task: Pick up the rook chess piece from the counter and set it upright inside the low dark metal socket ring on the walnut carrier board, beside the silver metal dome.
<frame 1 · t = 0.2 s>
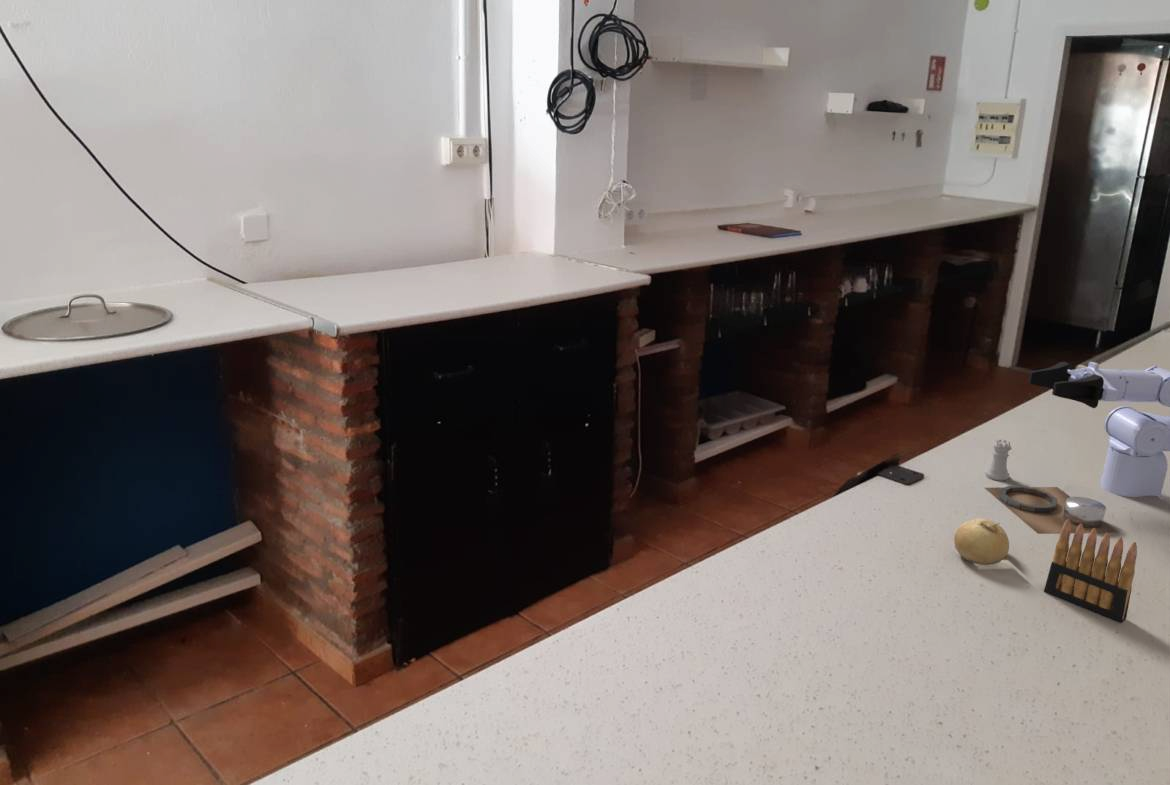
hand: (1041, 383, 161), 21 cm above the countertop, tool horizontal, fingers open, 7 cm apart
silver metal dome: (1082, 520, 156), resting on carrier board
ammunition clip: (1083, 606, 132), on the countertop
carrier board: (1046, 514, 160), on the countertop
rook chess piece: (995, 482, 173), on the countertop
socket ring: (1027, 501, 162), resting on carrier board
onion: (978, 559, 144), on the countertop
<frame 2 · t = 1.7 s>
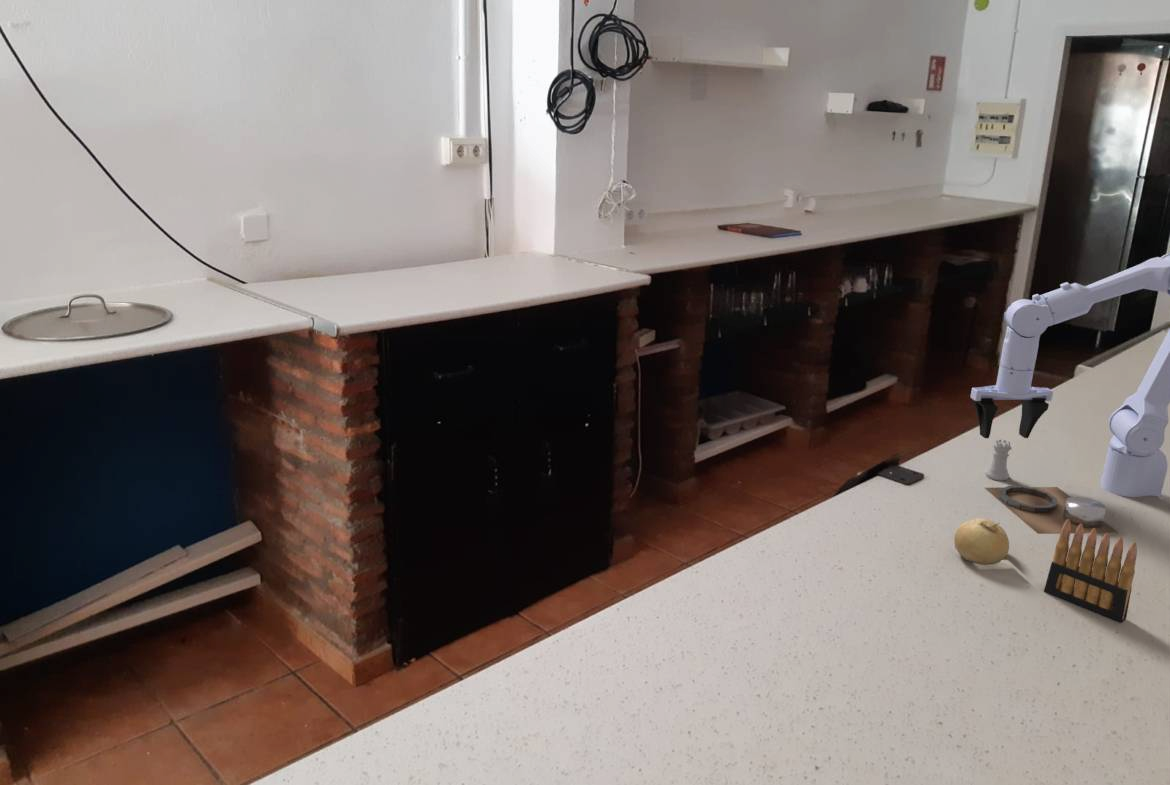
hand: (1003, 436, 170), 9 cm above the countertop, tool pointing down, fingers open, 7 cm apart
nothing on the countertop moved.
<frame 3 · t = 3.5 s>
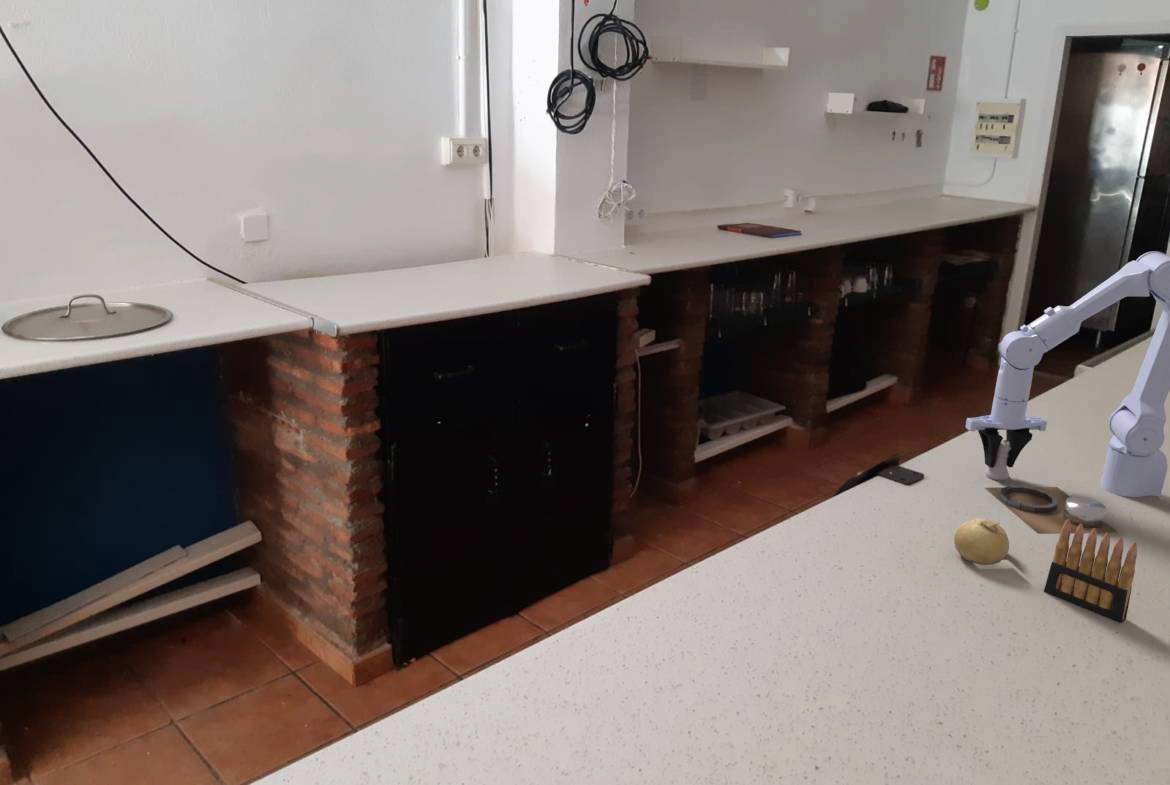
hand: (998, 465, 172), 3 cm above the countertop, tool pointing down, fingers closed on rook chess piece, 3 cm apart
rook chess piece: (995, 482, 173), on the countertop, touching gripper
everything else where it was.
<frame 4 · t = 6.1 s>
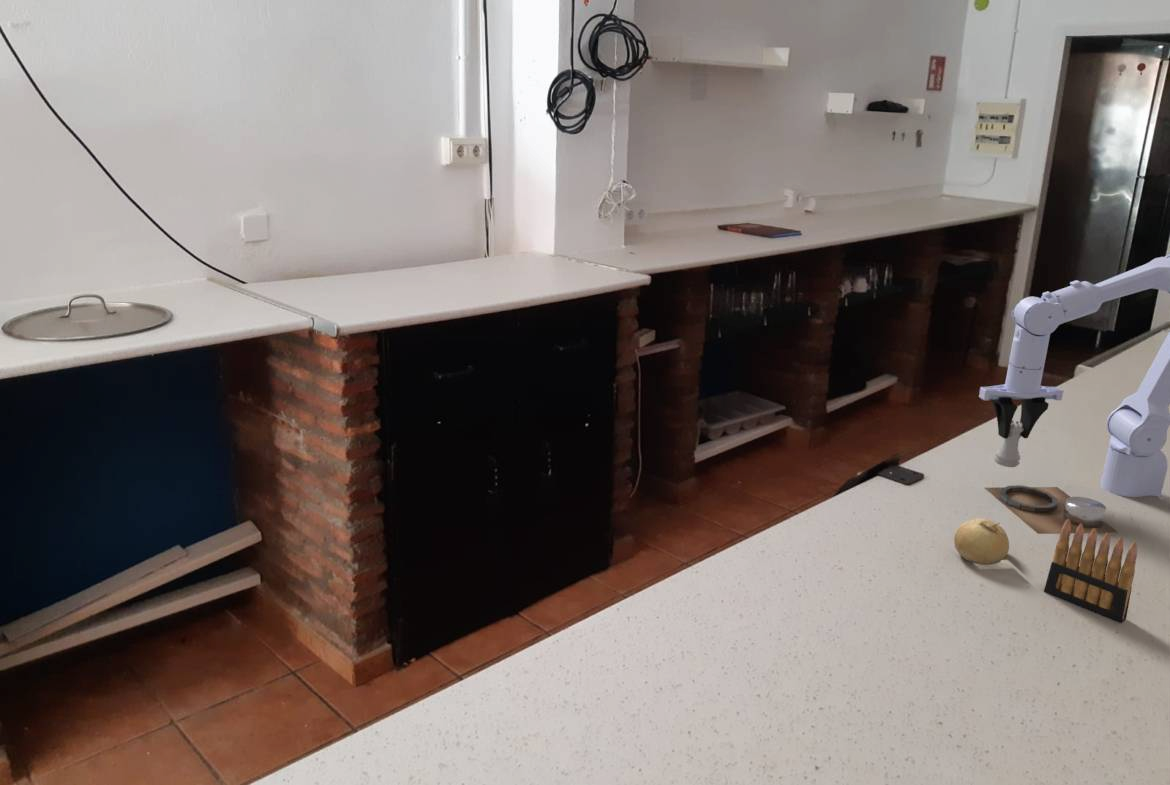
hand: (1013, 436, 167), 10 cm above the countertop, tool pointing down, fingers closed on rook chess piece, 3 cm apart
rook chess piece: (1005, 463, 169), point 5 cm above the countertop, touching gripper
everything else where it was.
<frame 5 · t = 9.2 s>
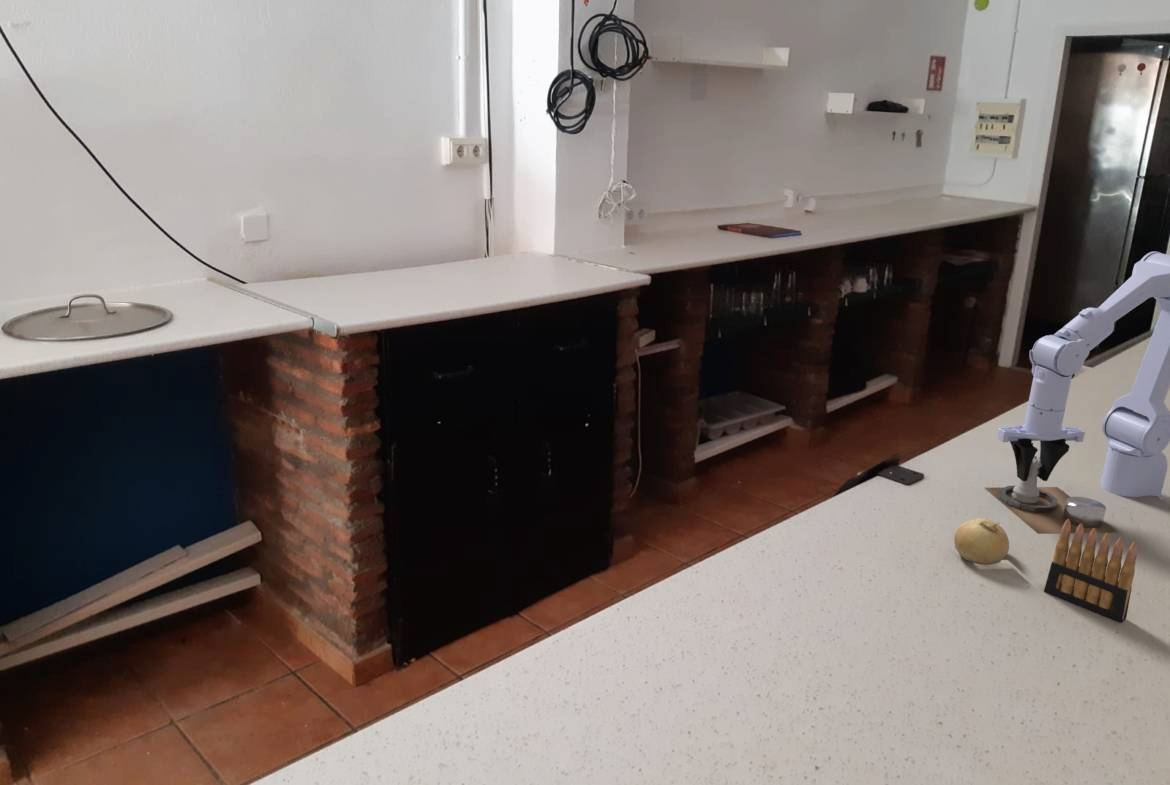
hand: (1032, 478, 161), 5 cm above the countertop, tool pointing down, fingers closed on rook chess piece, 3 cm apart
rook chess piece: (1024, 500, 163), point 1 cm above the countertop, touching carrier board, gripper
everything else where it was.
when the fingers open (5 cm above the countertop, at t = 10.3 s): rook chess piece stays where it is, resting on carrier board.
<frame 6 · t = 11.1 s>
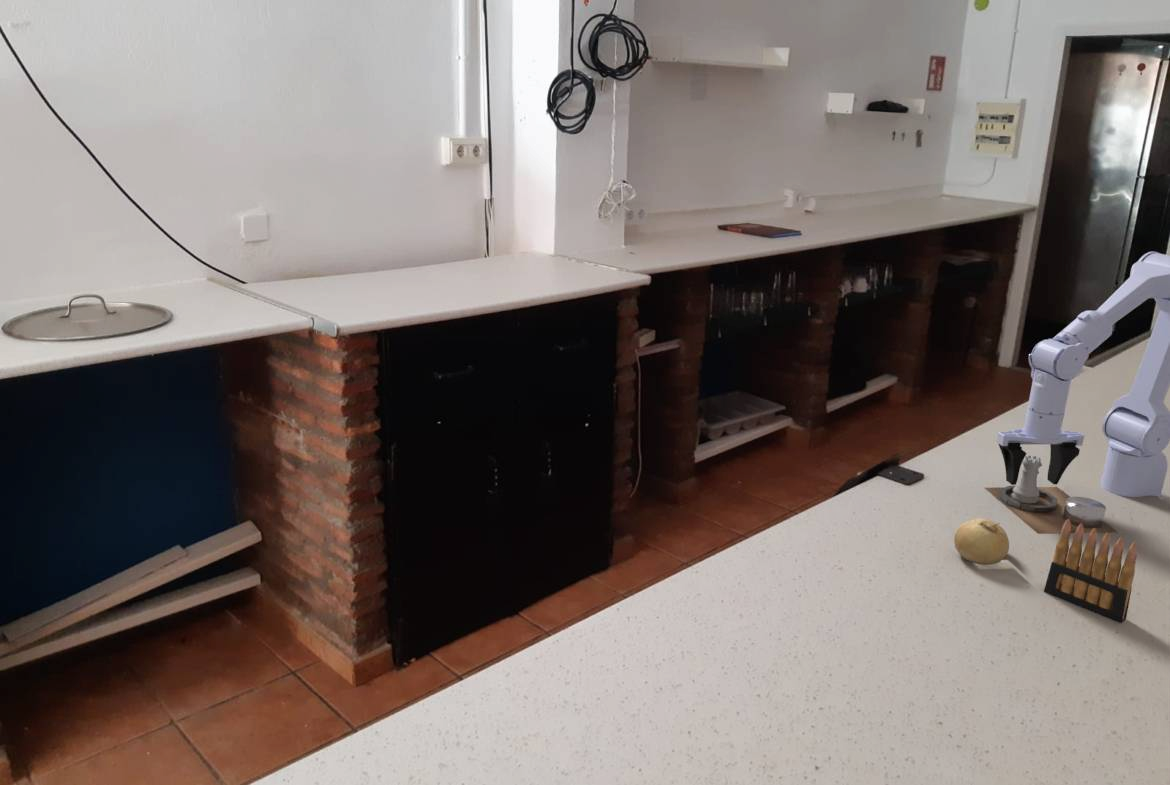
hand: (1031, 482, 161), 5 cm above the countertop, tool pointing down, fingers open, 7 cm apart
rook chess piece: (1024, 500, 163), point 1 cm above the countertop, touching carrier board
everything else where it was.
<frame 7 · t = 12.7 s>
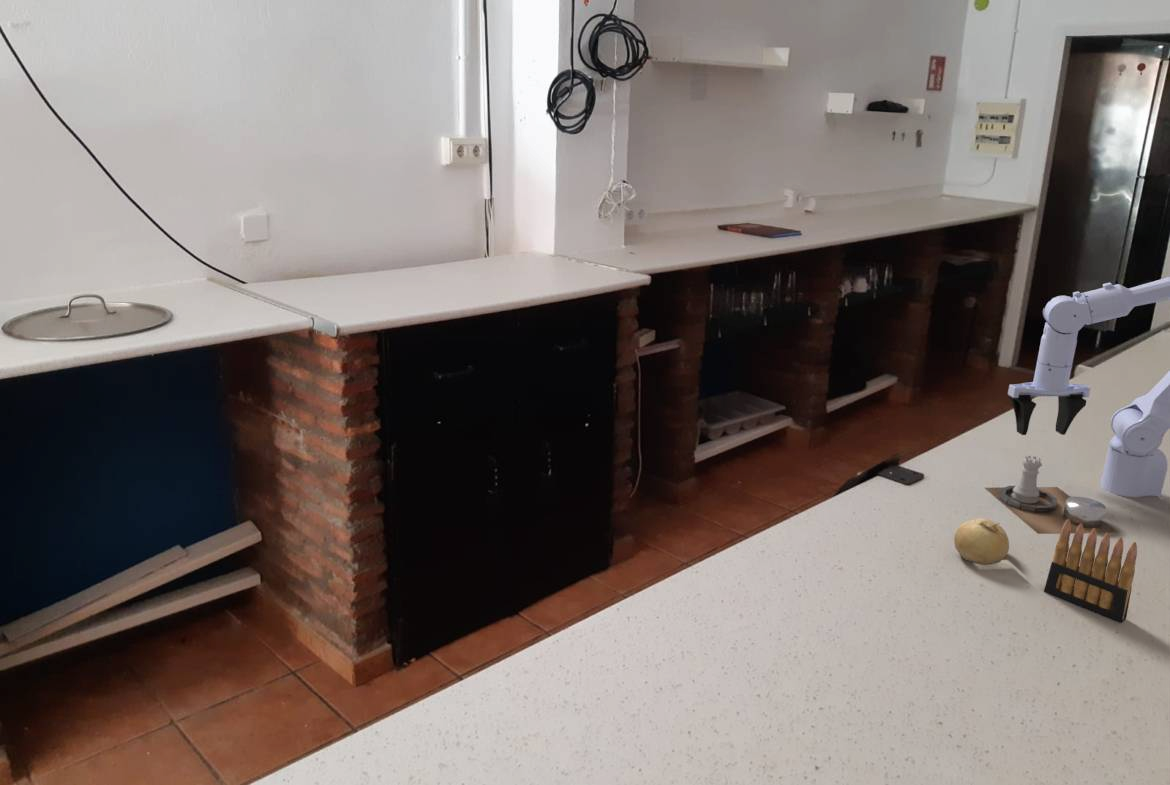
hand: (1040, 433, 170), 10 cm above the countertop, tool pointing down, fingers open, 7 cm apart
nothing on the countertop moved.
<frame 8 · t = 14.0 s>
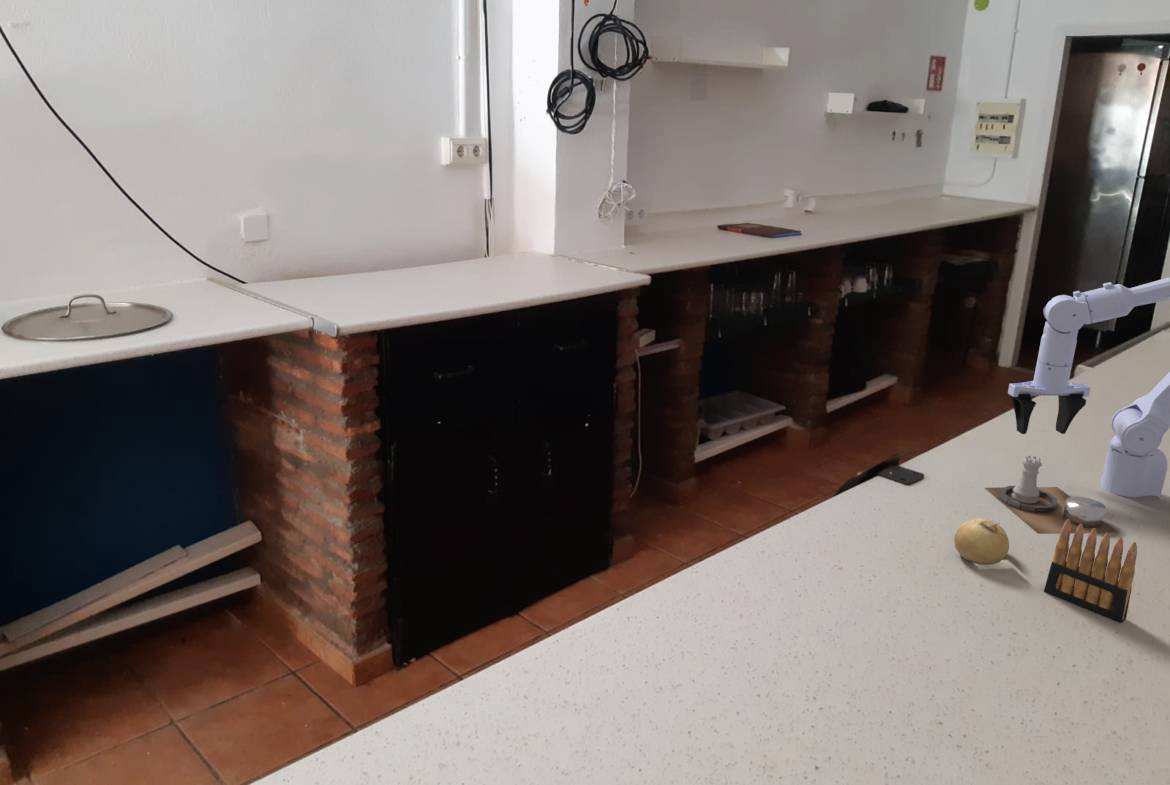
hand: (1040, 432, 171), 10 cm above the countertop, tool pointing down, fingers open, 7 cm apart
nothing on the countertop moved.
at the end: rook chess piece 0.8 cm off-centre on the socket ring, point 0.0 cm above the socket ring's base; rook chess piece tilted 0°; the gripper is holding nothing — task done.
